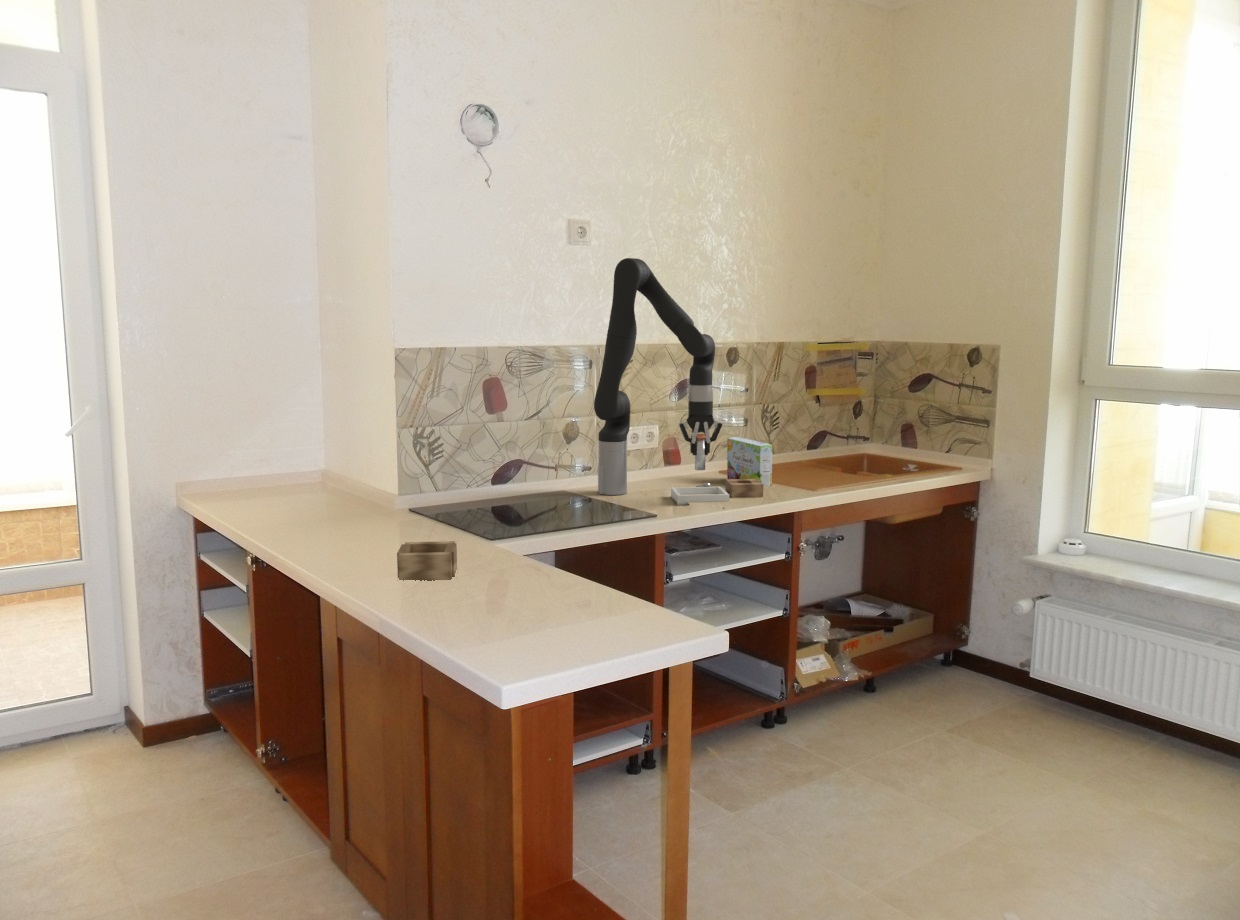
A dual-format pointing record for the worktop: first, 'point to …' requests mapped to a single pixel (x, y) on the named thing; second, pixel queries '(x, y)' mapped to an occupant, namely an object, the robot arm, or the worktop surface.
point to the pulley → (706, 485)
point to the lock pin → (700, 452)
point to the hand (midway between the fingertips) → (700, 454)
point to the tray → (713, 495)
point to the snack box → (749, 460)
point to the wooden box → (744, 488)
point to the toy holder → (427, 560)
